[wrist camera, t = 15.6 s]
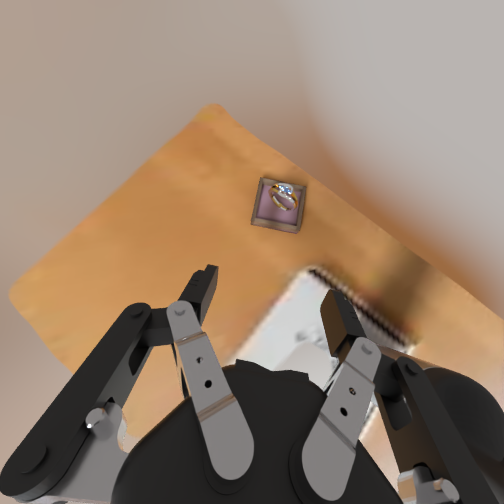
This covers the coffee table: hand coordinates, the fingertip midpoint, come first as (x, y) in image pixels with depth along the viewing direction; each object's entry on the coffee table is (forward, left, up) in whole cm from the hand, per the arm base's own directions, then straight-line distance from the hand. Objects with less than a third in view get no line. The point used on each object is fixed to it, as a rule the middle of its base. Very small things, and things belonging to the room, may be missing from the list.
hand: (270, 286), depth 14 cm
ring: (-2, -20, -28) cm, 35 cm away
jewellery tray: (-2, -21, -29) cm, 35 cm away
